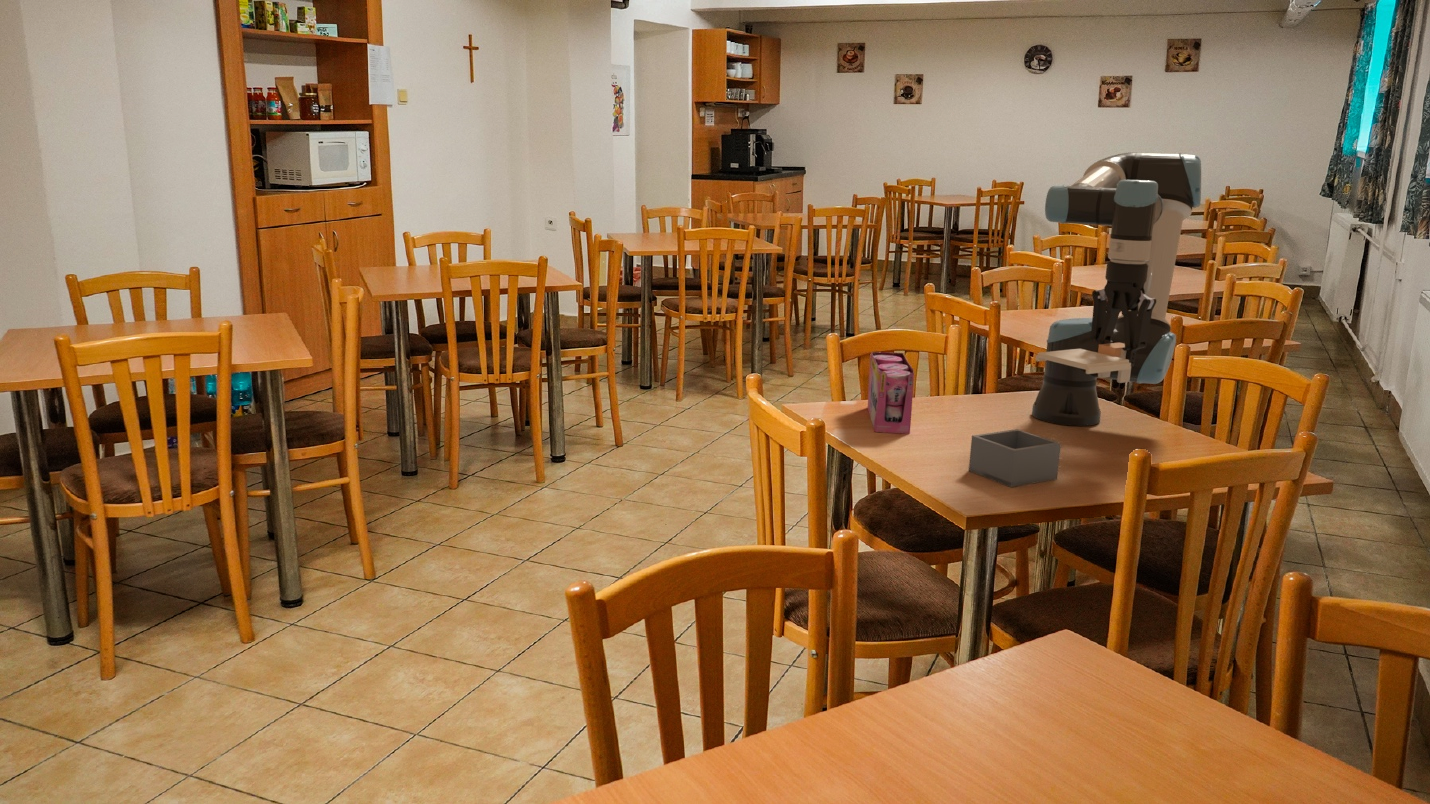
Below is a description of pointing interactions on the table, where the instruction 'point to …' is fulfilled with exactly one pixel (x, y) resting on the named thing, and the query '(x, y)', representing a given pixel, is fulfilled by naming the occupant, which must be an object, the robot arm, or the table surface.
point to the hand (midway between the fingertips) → (1113, 379)
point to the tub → (1014, 457)
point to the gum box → (890, 392)
